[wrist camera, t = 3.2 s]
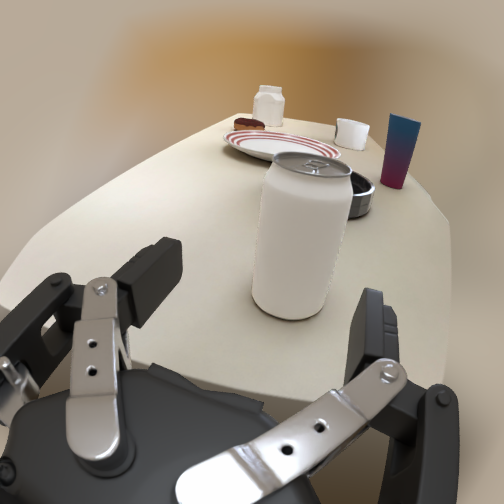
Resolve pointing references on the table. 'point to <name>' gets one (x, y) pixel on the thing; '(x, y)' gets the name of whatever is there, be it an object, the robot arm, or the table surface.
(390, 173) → the cup
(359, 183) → the pan
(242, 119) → the donut
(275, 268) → the can
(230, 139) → the dinner plate
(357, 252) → the table surface
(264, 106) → the jar
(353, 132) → the mug
